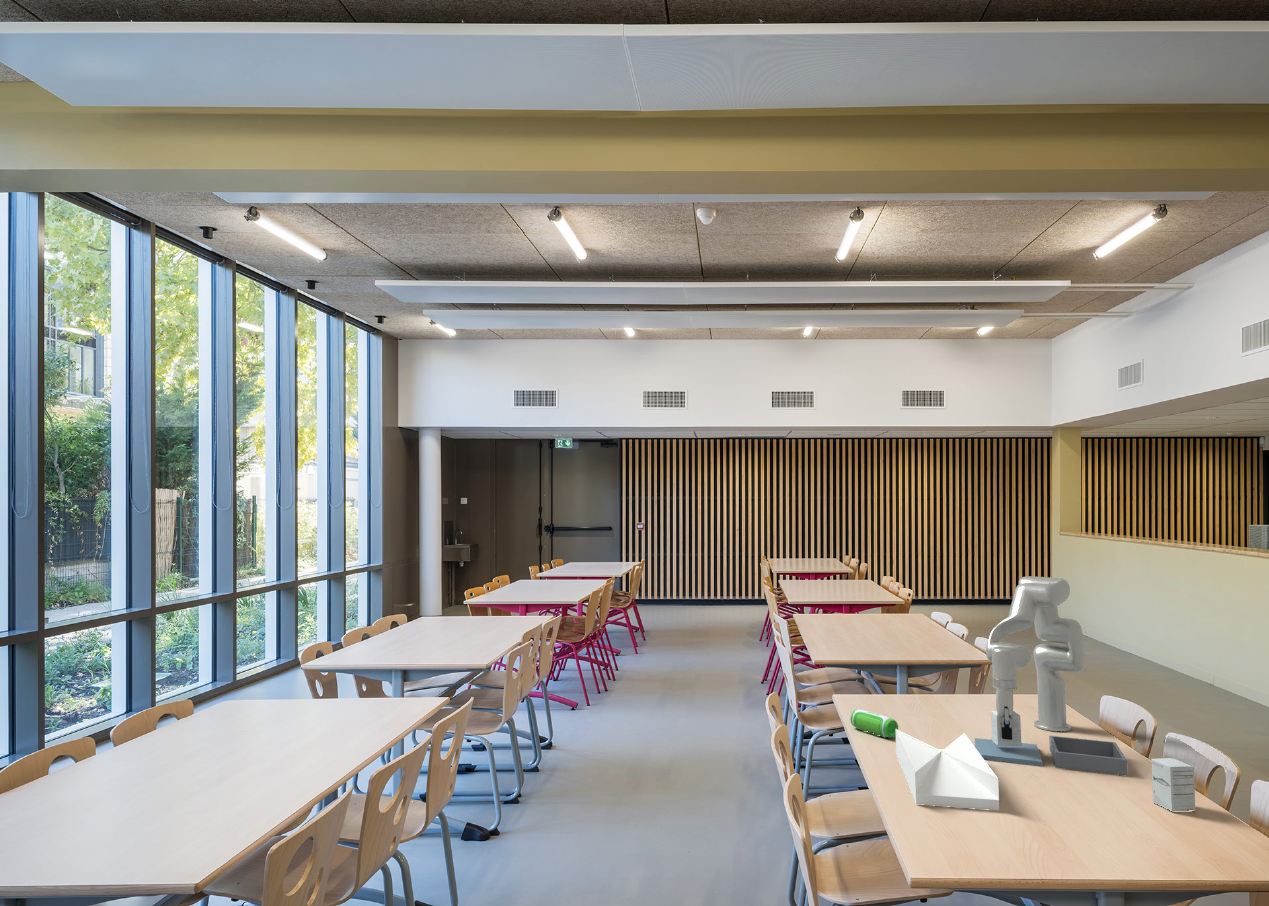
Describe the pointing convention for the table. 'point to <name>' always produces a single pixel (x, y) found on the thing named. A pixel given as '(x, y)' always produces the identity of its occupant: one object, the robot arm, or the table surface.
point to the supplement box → (1173, 784)
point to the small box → (998, 730)
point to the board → (1009, 752)
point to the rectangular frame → (1087, 755)
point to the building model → (947, 773)
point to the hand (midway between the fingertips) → (1006, 735)
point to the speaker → (874, 723)
